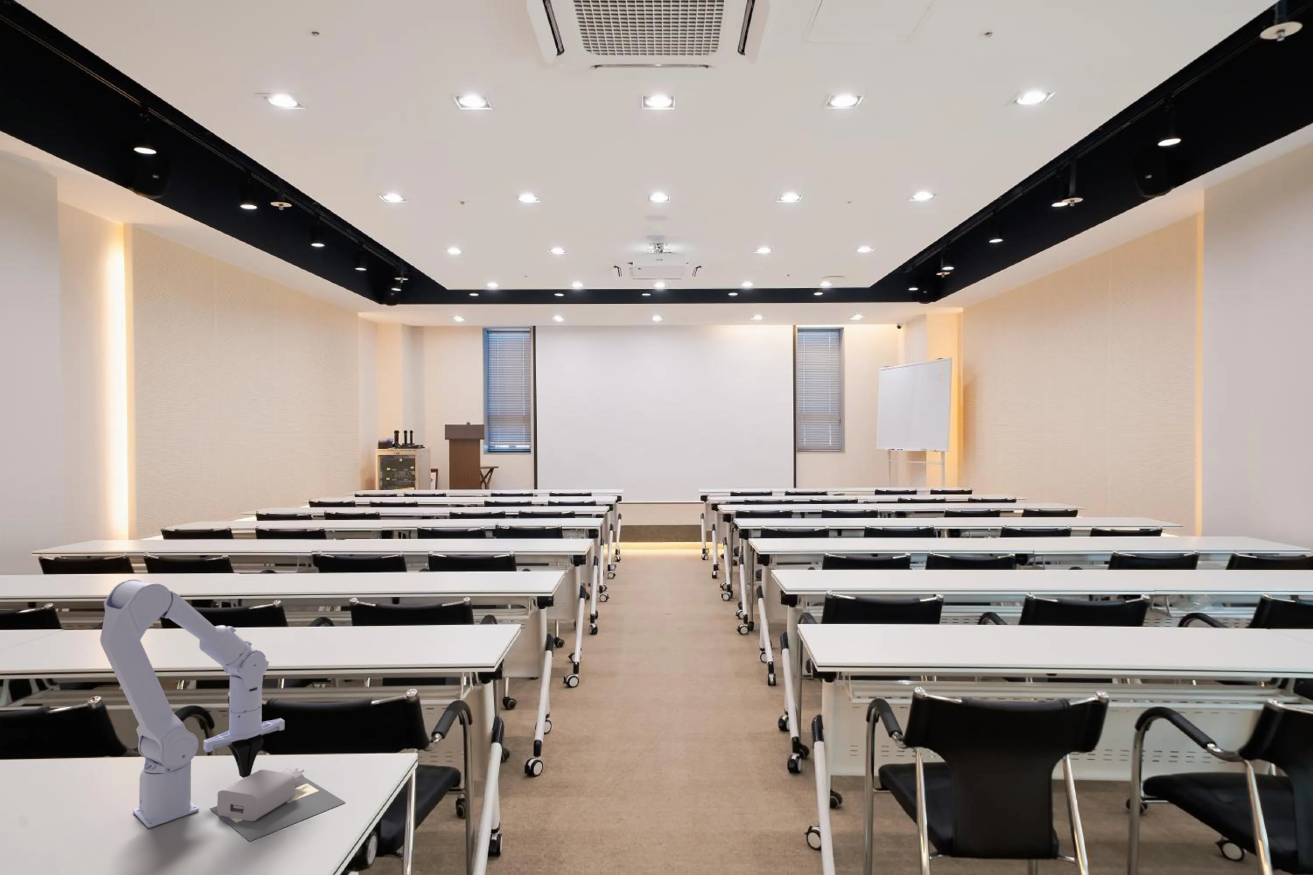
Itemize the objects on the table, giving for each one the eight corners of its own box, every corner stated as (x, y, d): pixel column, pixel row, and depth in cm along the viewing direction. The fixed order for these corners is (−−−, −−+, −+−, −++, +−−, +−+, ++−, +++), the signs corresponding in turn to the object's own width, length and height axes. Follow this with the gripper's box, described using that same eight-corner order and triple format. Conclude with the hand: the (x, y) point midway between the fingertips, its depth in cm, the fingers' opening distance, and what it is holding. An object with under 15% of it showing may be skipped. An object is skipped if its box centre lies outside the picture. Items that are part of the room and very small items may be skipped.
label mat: (209, 808, 130) (209, 807, 130) (302, 775, 144) (302, 775, 144) (249, 841, 119) (249, 840, 119) (345, 802, 133) (345, 801, 133)
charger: (318, 784, 140) (256, 822, 125) (282, 778, 142) (217, 815, 128) (319, 760, 140) (257, 795, 125) (282, 755, 142) (217, 789, 128)
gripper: (274, 694, 150) (273, 757, 149) (197, 713, 138) (197, 782, 138) (289, 701, 145) (288, 766, 145) (211, 722, 134) (210, 793, 134)
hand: (245, 775), depth 141 cm, fingers closed
